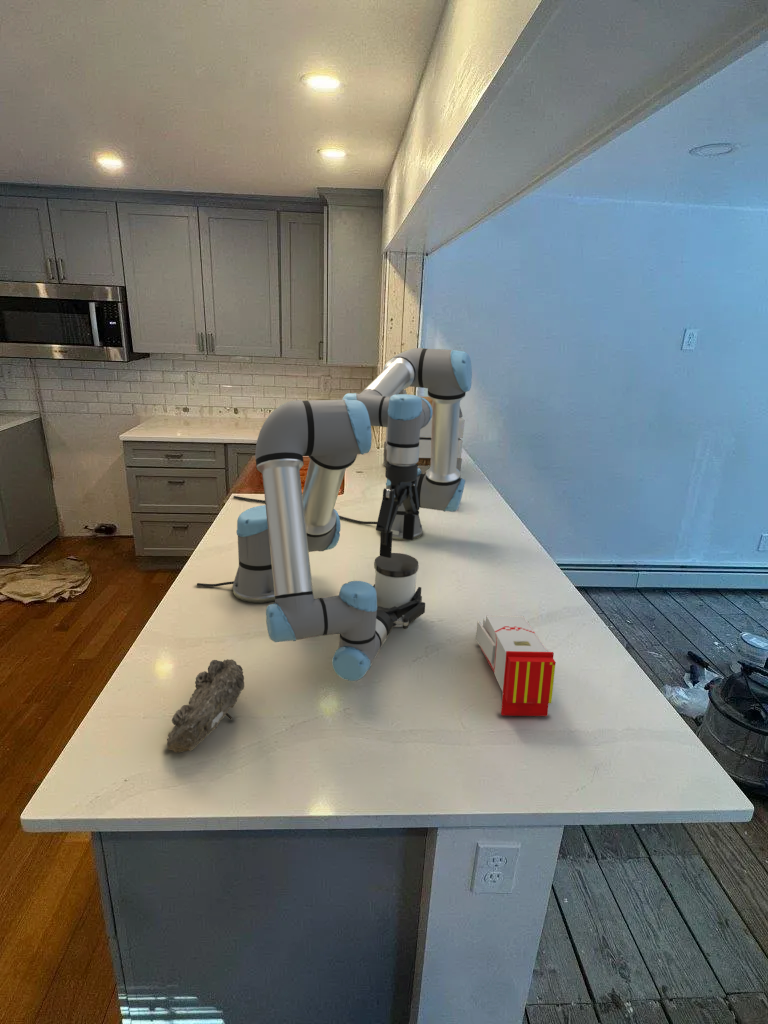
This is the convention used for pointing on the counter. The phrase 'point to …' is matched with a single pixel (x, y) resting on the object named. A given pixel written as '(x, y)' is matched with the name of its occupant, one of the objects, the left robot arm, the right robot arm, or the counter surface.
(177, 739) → the fossil
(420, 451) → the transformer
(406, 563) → the lid
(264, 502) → the right robot arm
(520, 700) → the toy
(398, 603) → the jar
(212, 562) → the counter surface
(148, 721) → the counter surface
